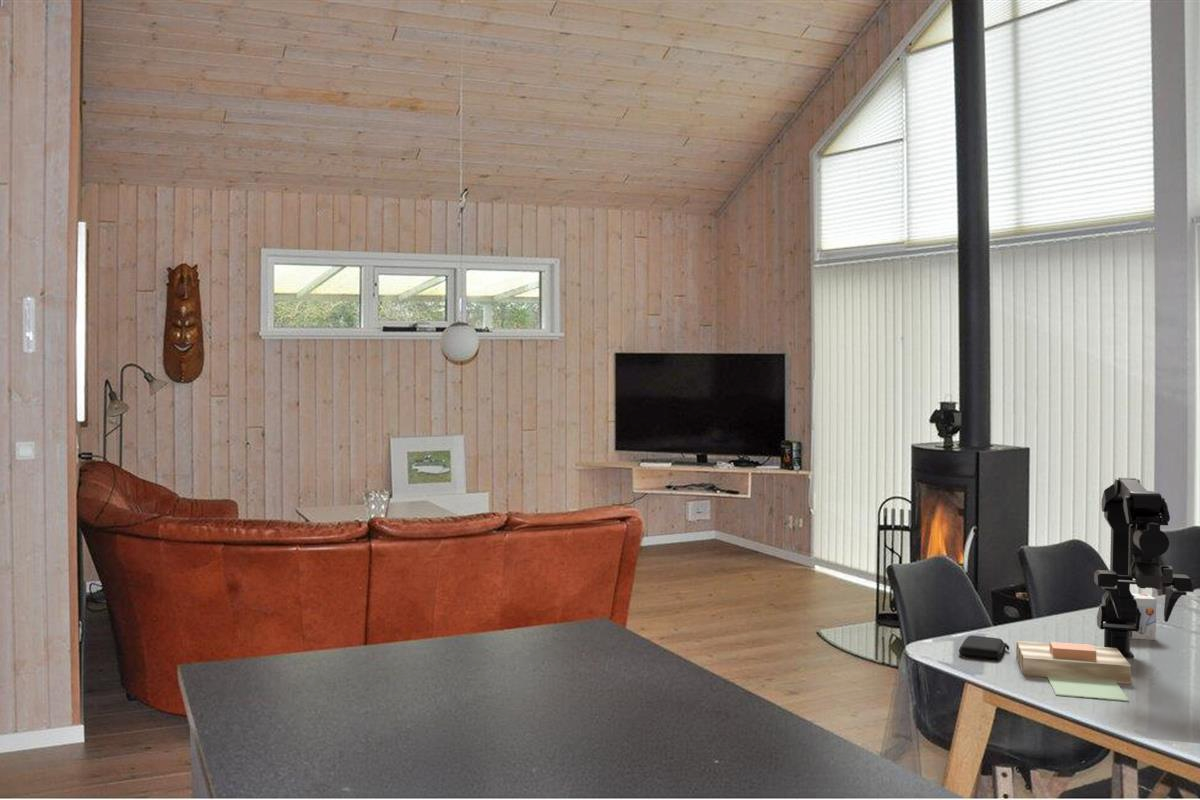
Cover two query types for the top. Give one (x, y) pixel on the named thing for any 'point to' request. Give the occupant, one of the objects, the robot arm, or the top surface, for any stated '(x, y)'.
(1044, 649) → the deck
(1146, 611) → the light bulb box
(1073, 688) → the mat
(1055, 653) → the block
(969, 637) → the carrying case or bag
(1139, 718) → the top surface
